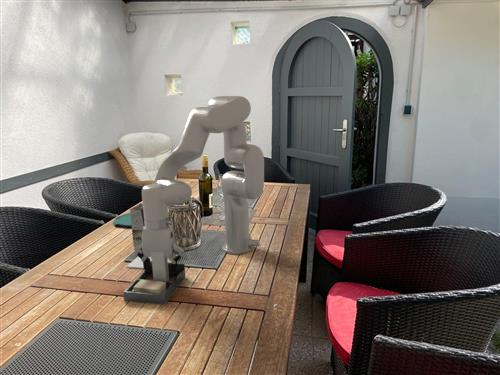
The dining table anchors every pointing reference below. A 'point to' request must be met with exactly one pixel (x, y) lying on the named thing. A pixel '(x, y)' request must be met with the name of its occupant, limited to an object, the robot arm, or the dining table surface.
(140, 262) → the board
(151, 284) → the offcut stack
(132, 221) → the coffee box
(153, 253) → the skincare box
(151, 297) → the tray
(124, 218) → the green flat slab
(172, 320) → the dining table surface
